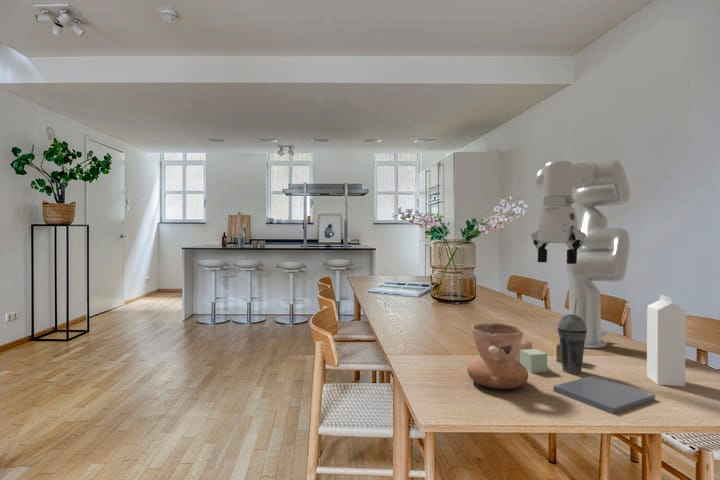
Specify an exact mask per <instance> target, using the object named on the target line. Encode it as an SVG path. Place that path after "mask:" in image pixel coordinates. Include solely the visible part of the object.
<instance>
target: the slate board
mask: <svg viewBox="0 0 720 480" xmlns="http://www.w3.org/2000/svg"><path fill="white" fill-rule="evenodd" d="M552 391H553V392H555V393H557V394H560V395H562V396H565V397H568V398H570V399H574V400H576V401H578V402H581V403H584V404H587V405H588V406H591V407H594V408H597V409H598V410H601V411H603V412H607V413H609V414H612V415H614V414H617V413H621V412H623V411H627V410H629V409H632V408H635V407H638V406H640V405H644V404H647V403H649V402H653V401H655V400H656V394H655V393H651V392H649V391H645V390H642V389H640V388H637V387H633V386H630V385H627V384H624V383H620V382H617V381H614V380H610V379H607V378H604V377H602V376H598V375H590V376H586V377H583V378H580V379H574V380H572V381H568V382H567V381H566V382H563V383H559V384H555V385H553V390H552Z"/></svg>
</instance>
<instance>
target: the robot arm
mask: <svg viewBox="0 0 720 480" xmlns="http://www.w3.org/2000/svg"><path fill="white" fill-rule="evenodd" d="M535 185H536V187H537V189H538V190H539V191H540V192H543V195H542V196H543V197H542V198H543V199H542V200H543V201H542V202H543V205H542V206H543V207H542V209H541V211H540V215H539V222H538V223H539V224H538V230H537V231H535V232H533V233H532V234H531V236H530V237H531V239H532V242H533V245H534V246H535V249H536V250H537V262H538V263H547V262H548V250H547V246H549V244H550V243H551V244H565V245H566V246H567V248H568V249H566V263H565V264H566V265H565V266H566V273H567V278H568V279H567V280H568V293H569V294H568V297H569V298H568V300H569V301H568V304H569V305H568V307H569V308H568V315H573V313H574V305H575V299H577V306H576V314H575V315H576V316H578V317H580V318H581V319H582V320H583V321H584V323H585V325H586V330H587V332H586V338H585V343H584V349H585V348H586V349H602V348H605V347H606V346H607V343H606V341H604V340H603V339H602V337H607V335H608V332H607V331H606V330H602V329H601V322H602V321H601V320H602V319H601V315H602V314H601V310H602V309H601V308H602V306H601V303H602V301H601V299H602V298H601V297H602V296H601V295H602V294H601V291H600V289H599V288H598V287H597V286H596V284H595V283H594V282H613V283H615V282H616V283H618V282H620V281H623V280H624V278H625V277H626V276H625V275H626V273H627V267H628V259H629V251H630V242H631V241H630V235H629V233H628V231H627V230H626V229H624V228H621V227H608V218H607V217H606V215H605V214H604V213H603V212H602V211H601V210H599V209H598V208H596V207H604V206H605V207H606V206H608V207H609V206H621V205H625V204H626V203H628V202H629V199H630V197H631V189H630V186H629V182H628V177H627V175H626V170H625V169H624V166H623V164H622V162H620V161H619V160H617V159H606V160H598V161H597V160H596V161H588V162H587V161H586V162H574V163H572V162H570V161H568V160H562V159H561V160H553V161H548V162H546V163H545V164H544V166H543V168H540V169H539V170H538V171H537V173H536V175H535ZM574 190H575V193H574V198H573V191H574ZM573 204H575V205H576V208H577V211H578V214H579V217H580V223H578V218H577V213H576V209H575V208H574V207H573ZM578 225H579V227H578ZM578 251H579V252H578Z"/></svg>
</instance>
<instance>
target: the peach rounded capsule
mask: <svg viewBox="0 0 720 480" xmlns="http://www.w3.org/2000/svg"><path fill="white" fill-rule="evenodd" d="M525 349H533V342H531V341H529V340H526V339H522V341H521V343H520V346H519V349H518V351H517V353H516V355H515V357H514V358H515V359H516V360H517V361H518V362H519V363H520V350H525Z"/></svg>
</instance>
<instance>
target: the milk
mask: <svg viewBox="0 0 720 480" xmlns="http://www.w3.org/2000/svg"><path fill="white" fill-rule="evenodd" d="M646 311H647V312H646V377H647V378H648V379H649V380H651V381H652V382H654V383H655V384H656V385H658V386H673V387H681V388H682V387H683V388H684V387H686V317H687V316H686V315H687V313H686V310H685V309H683V308H681V307H680V306H677V305H676V304H673V298H672V296H668V295H664V294H661V293H660V294H659V300H657V301H655V302H653V303H651V304H648V305H647V307H646Z"/></svg>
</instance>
